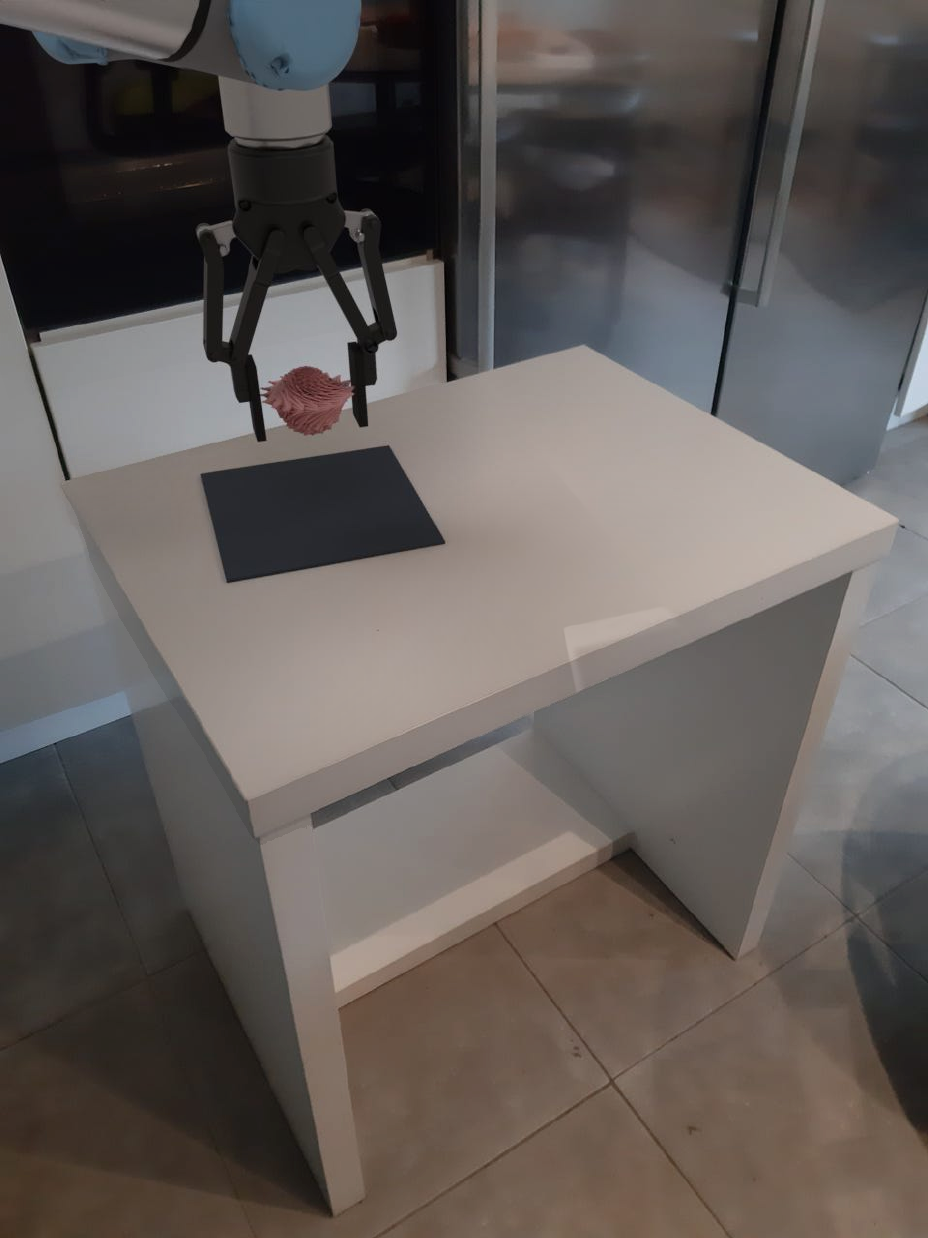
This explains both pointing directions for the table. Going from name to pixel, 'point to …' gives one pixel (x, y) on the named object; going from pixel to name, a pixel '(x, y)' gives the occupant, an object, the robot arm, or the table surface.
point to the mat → (315, 512)
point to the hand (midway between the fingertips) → (310, 426)
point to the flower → (308, 399)
